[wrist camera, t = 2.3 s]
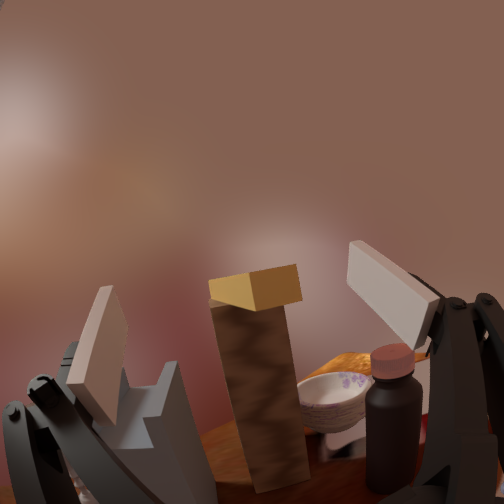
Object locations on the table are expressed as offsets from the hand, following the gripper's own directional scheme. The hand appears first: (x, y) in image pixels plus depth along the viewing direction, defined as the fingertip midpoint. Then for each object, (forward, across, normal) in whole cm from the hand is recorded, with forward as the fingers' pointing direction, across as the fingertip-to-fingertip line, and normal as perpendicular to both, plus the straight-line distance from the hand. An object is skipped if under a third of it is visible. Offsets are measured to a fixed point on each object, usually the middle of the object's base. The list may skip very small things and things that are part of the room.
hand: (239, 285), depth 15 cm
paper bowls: (+11, +16, -42) cm, 46 cm away
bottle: (-8, +15, -31) cm, 35 cm away
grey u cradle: (-4, -12, -33) cm, 35 cm away
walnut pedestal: (+5, +2, -38) cm, 38 cm away
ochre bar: (+15, +2, -11) cm, 19 cm away
